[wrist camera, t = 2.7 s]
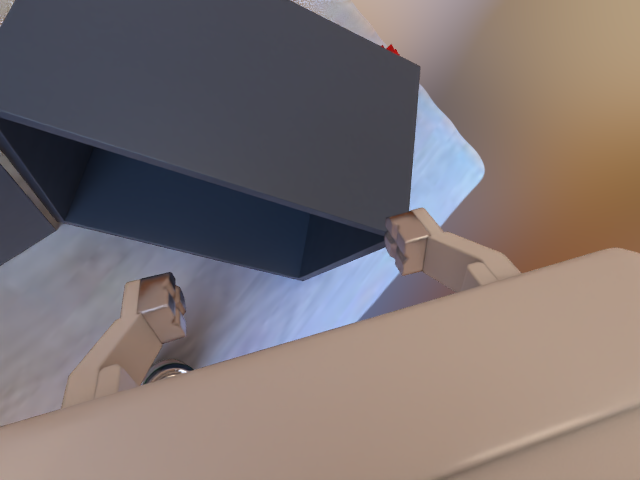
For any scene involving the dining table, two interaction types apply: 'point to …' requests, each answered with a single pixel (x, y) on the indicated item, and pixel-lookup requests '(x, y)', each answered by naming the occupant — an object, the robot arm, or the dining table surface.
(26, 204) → the cupboard door
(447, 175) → the dining table surface
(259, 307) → the dining table surface
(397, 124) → the cupboard
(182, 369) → the soda can
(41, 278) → the dining table surface
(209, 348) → the dining table surface
